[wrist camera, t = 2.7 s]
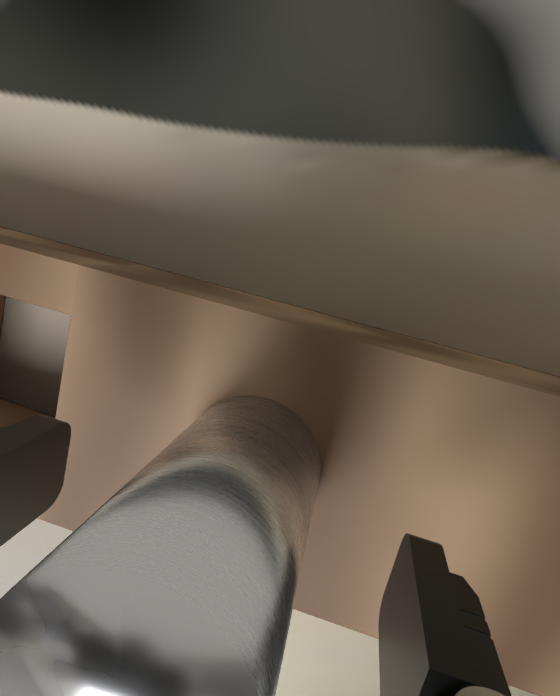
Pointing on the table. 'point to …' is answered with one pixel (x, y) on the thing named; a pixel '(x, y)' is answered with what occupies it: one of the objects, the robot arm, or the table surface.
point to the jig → (318, 434)
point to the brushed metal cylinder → (175, 570)
